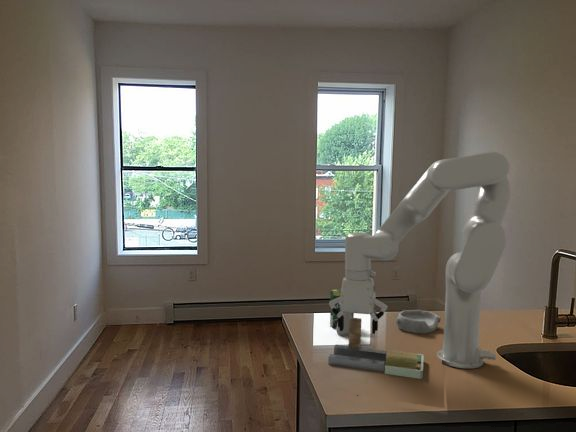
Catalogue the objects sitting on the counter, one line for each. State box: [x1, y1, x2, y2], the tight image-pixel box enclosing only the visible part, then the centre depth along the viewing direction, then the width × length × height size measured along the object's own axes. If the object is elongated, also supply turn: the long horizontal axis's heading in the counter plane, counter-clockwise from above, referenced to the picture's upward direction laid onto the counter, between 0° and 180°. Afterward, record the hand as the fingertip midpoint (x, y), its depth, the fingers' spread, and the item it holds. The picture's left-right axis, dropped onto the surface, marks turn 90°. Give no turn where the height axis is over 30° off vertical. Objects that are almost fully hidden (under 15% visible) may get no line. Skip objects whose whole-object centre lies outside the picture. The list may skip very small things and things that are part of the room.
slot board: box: [327, 344, 388, 373], centre depth 132 cm, size 15×10×3 cm, turn 73°
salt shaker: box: [335, 302, 352, 337], centre depth 154 cm, size 6×6×13 cm
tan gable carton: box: [347, 317, 362, 348], centre depth 141 cm, size 3×4×10 cm
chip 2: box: [401, 351, 418, 370], centre depth 128 cm, size 4×4×4 cm
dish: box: [395, 309, 442, 334], centre depth 165 cm, size 14×14×5 cm
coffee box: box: [329, 289, 355, 329], centre depth 164 cm, size 8×3×13 cm, turn 103°
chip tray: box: [384, 351, 425, 380], centre depth 128 cm, size 10×12×3 cm
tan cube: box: [385, 349, 403, 367], centre depth 129 cm, size 4×4×4 cm
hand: (357, 331), depth 141 cm, fingers open, 9 cm apart
